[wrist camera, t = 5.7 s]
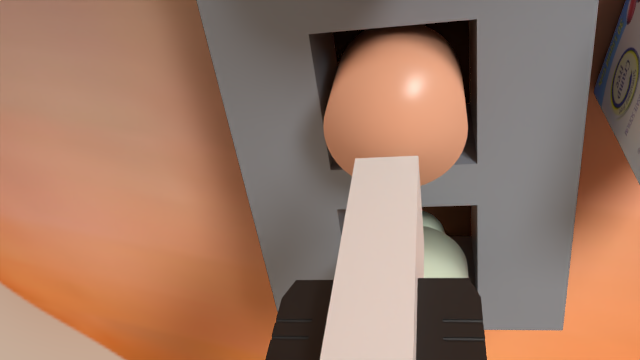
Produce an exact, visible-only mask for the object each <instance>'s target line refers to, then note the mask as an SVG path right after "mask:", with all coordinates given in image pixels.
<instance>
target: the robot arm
mask: <svg viewBox="0 0 640 360" xmlns="http://www.w3.org/2000/svg"><path fill="white" fill-rule="evenodd" d="M266 360H487V356H486V346H485V335H484V324H483V314H482V303H481V296H480V295H479V293H478V292H477V290H476V289H475V287H474V286H473V284H472V283H471V281H470V280H469V278H424V233H423V218H422V203H421V188H420V173H419V158H418V156H398V157H376V158H355V163H354V168H353V174H352V180H351V185H350V191H349V197H348V202H347V208H346V214H345V219H344V225H343V231H342V236H341V242H340V248H339V253H338V259H337V265H336V270H335V276H334V280H296V281H295V282H294V283H293V284H292V286H291V287H290V288H289V290H288V291H287V292H286V293H285V295H284V296H283V297H282V299H281V303H280V307H279V310H278V314H277V318H276V323H275V326H274V329H273V333H272V340H271V341H270V344H269V348H268V352H267V356H266Z"/></svg>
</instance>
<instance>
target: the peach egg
mask: <svg viewBox="0 0 640 360" xmlns="http://www.w3.org/2000/svg"><path fill="white" fill-rule="evenodd" d="M323 129H324V137H325V141H326V144H327V147H328V149H329V151H330V153H331V155H332V157H333V158H334V159H335V161H336V162H337V163H338V165H339V166H340V167H341V168H342V169H343V170H344V171H346V172H347V173H348V174H349V175H351V176H352V174H353V168H354V163H355V158H376V157H398V156H418V158H419V173H420V186H421V185H424V184H427V183H429V182H431V181H434V180H435V179H437V178H439V177H440V176H442V175H443V174H444V173H446V172H447V171H448V170H449V169H450V168H451V167H452V166H453V165H454V164H455V162H456V161H457V160H458V158H459V157H460V155H461V153H462V151H463V149H464V146H465V144H466V139H467V134H468V122H467V113H466V104H465V95H464V86H463V78H462V69H461V65H460V61H459V59H458V56H457V54H456V52H455V51H454V49H453V47H452V46H451V45H450V44H449V42H448V41H447V40H446V39H445V38H444V37H443V36H441V35H440V34H439V33H437V32H436V31H434V30H432V29H431V28H429V27H426V26H424V25H421V24H417V25H406V26H395V27H384V28H373V29H367V30H366V31H364V32H362V33H361V34H360V35H358V36H357V37H356V38H355V39H354V40H353V41H352V42H351V43H350V44H349V45H348V47H347V48H346V49H345V51H344V53H343V55H342V57H341V59H340V62H339V65H338V68H337V72H336V76H335V79H334V83H333V86H332V90H331V93H330V97H329V101H328V104H327V108H326V111H325V116H324V125H323Z"/></svg>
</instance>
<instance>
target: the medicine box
mask: <svg viewBox="0 0 640 360" xmlns="http://www.w3.org/2000/svg"><path fill="white" fill-rule="evenodd" d="M594 94H595V97H596V99H597V101H598V103H599V105H600V107H601V109H602V111H603V113H604V115H605V117H606V119H607V121H608V123H609V125H610V127H611V129H612V131H613V133H614V135H615V136H616V138H617V140H618V142H619V144H620V146H621V148H622V150H623V152H624V155H625V157H626V159H627V160H628V162H629V164H630V166H631V168H632V170H633V172H634V174H635V176H636V178H637V180H638V182H639V184H640V0H626V1H625V4H624V7H623V9H622V12H621V15H620V17H619V20H618V23H617V26H616V29H615V32H614V35H613V37H612V40H611V43H610V46H609V48H608V51H607V54H606V57H605V60H604V62H603V65H602V69H601V71H600V74H599V76H598V79H597V82H596V85H595V88H594Z"/></svg>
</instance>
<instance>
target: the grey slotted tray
mask: <svg viewBox="0 0 640 360" xmlns="http://www.w3.org/2000/svg"><path fill="white" fill-rule="evenodd" d="M196 1H197V5H198V8H199V12H200V16H201V20H202V24H203V28H204V31H205V35H206V39H207V43H208V47H209V51H210V54H211V58H212V62H213V66H214V70H215V74H216V77H217V81H218V85H219V89H220V93H221V97H222V100H223V104H224V108H225V112H226V116H227V120H228V123H229V127H230V131H231V135H232V139H233V143H234V147H235V150H236V154H237V158H238V162H239V166H240V170H241V173H242V177H243V181H244V185H245V189H246V193H247V196H248V200H249V204H250V208H251V212H252V216H253V219H254V223H255V227H256V231H257V235H258V239H259V242H260V246H261V250H262V254H263V258H264V262H265V265H266V269H267V273H268V277H269V281H270V285H271V288H272V292H273V296H274V300H275V304H276V308H277V311H278V310H279V307H280V303H281V299H282V297H283V296H284V295H285V293H286V292H287V291H288V290H289V288H290V287H291V286H292V284H293V283H294V282H295V281H296V280H334V276H335V270H336V265H337V259H338V253H339V248H340V242H341V236H342V231H343V225H344V219H345V214H346V208H347V202H348V197H349V191H350V185H351V180H352V176H351V175H349V174H348V173H347V172H346V171H344V170H343V169H342V168H341V167H340V166H339V165H338V163H337V162H336V161H335V159H334V158H333V157H332V155H331V153H330V151H329V149H328V147H327V144H326V141H325V137H324V129H323V125H324V116H325V111H326V108H327V104H328V101H329V97H330V93H331V90H332V86H333V83H334V79H335V76H336V72H337V68H338V65H337V58H336V50H335V43H334V36H333V32H339V31H350V30H361V29H373V28H384V27H395V26H406V25H417V24H429V23H440V22H451V21H462V20H469V76H470V104H466V113H467V122H468V134H467V139H466V144H465V146H464V149H463V151H462V153H461V155H460V157H459V158H458V160H457V161H456V162H455V164H454V165H453V166H452V167H451V168H450V169H449V170H448V171H447V172H446V173H444V174H443V175H442V176H440V177H439V178H437V179H435V180H434V181H431V182H429V183H427V184H424V185H421V186H420V188H421V203H422V207H434V206H466V205H471V236H449V237H450V238H452V239H453V240H454V241H455V242H456V243H457V244H458V245H459V246H460V248H461V249H462V250H463V252H464V254H465V256H466V260H467V265H468V277H469V280H470V281H471V283H472V284H473V286H474V287H475V289H476V290H477V292H478V293H479V295H480V296H481V303H482V314H483V324H484V330H563V323H564V314H565V304H566V295H567V286H568V277H569V268H570V259H571V250H572V241H573V232H574V222H575V213H576V204H577V195H578V186H579V177H580V168H581V159H582V150H583V140H584V131H585V122H586V113H587V104H588V95H589V86H590V77H591V68H592V58H593V49H594V40H595V31H596V22H597V13H598V4H599V0H196Z"/></svg>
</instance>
